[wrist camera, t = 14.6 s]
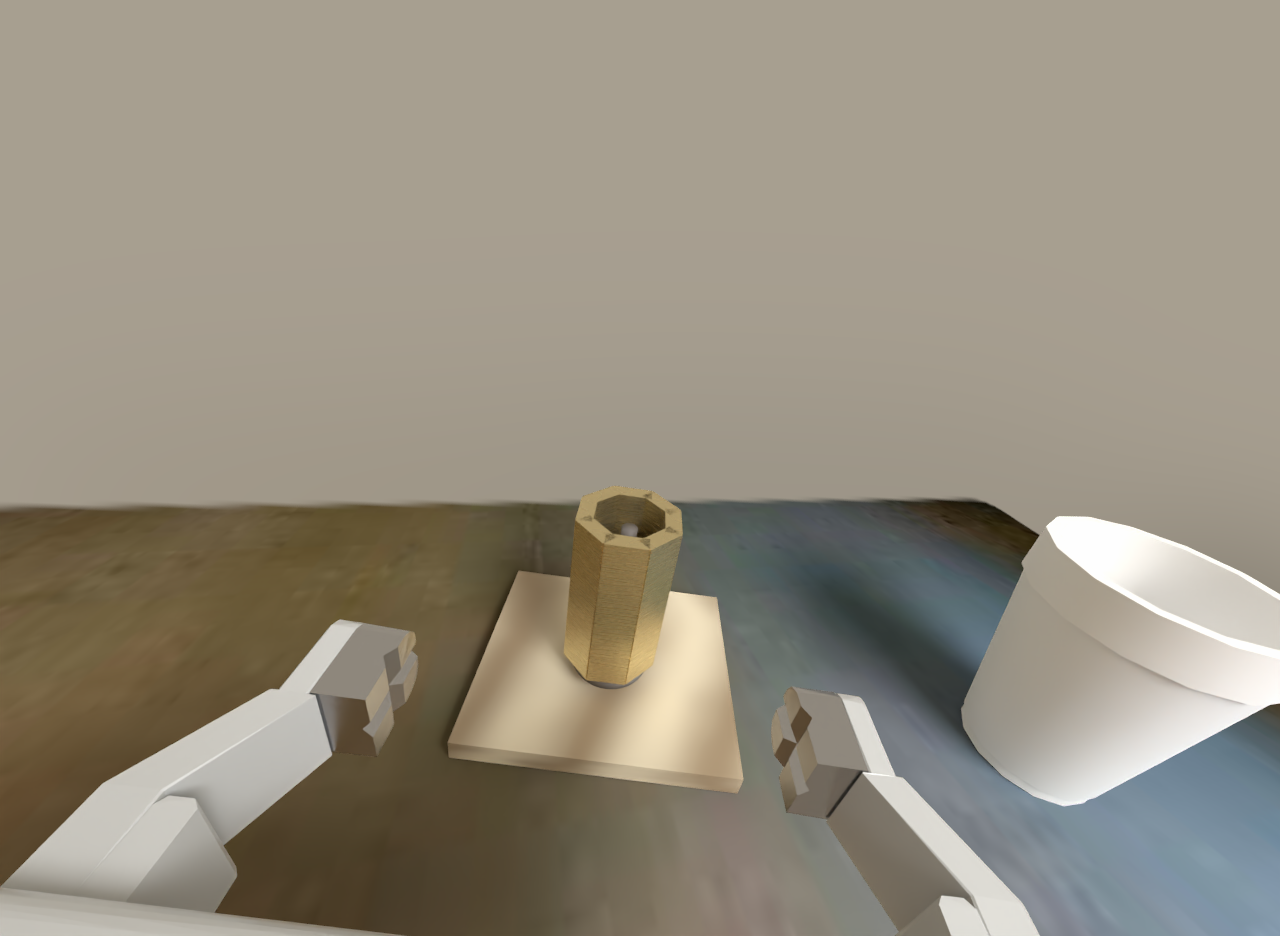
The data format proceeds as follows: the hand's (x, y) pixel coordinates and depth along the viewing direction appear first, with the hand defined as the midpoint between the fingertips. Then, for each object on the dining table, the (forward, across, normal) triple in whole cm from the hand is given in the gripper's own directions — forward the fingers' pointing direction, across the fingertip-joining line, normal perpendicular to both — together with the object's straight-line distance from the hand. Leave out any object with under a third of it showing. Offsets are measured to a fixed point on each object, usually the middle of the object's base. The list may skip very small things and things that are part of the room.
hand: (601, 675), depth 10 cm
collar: (+12, -1, +13) cm, 17 cm away
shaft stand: (+12, -1, +15) cm, 19 cm away
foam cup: (+10, -25, +14) cm, 31 cm away
